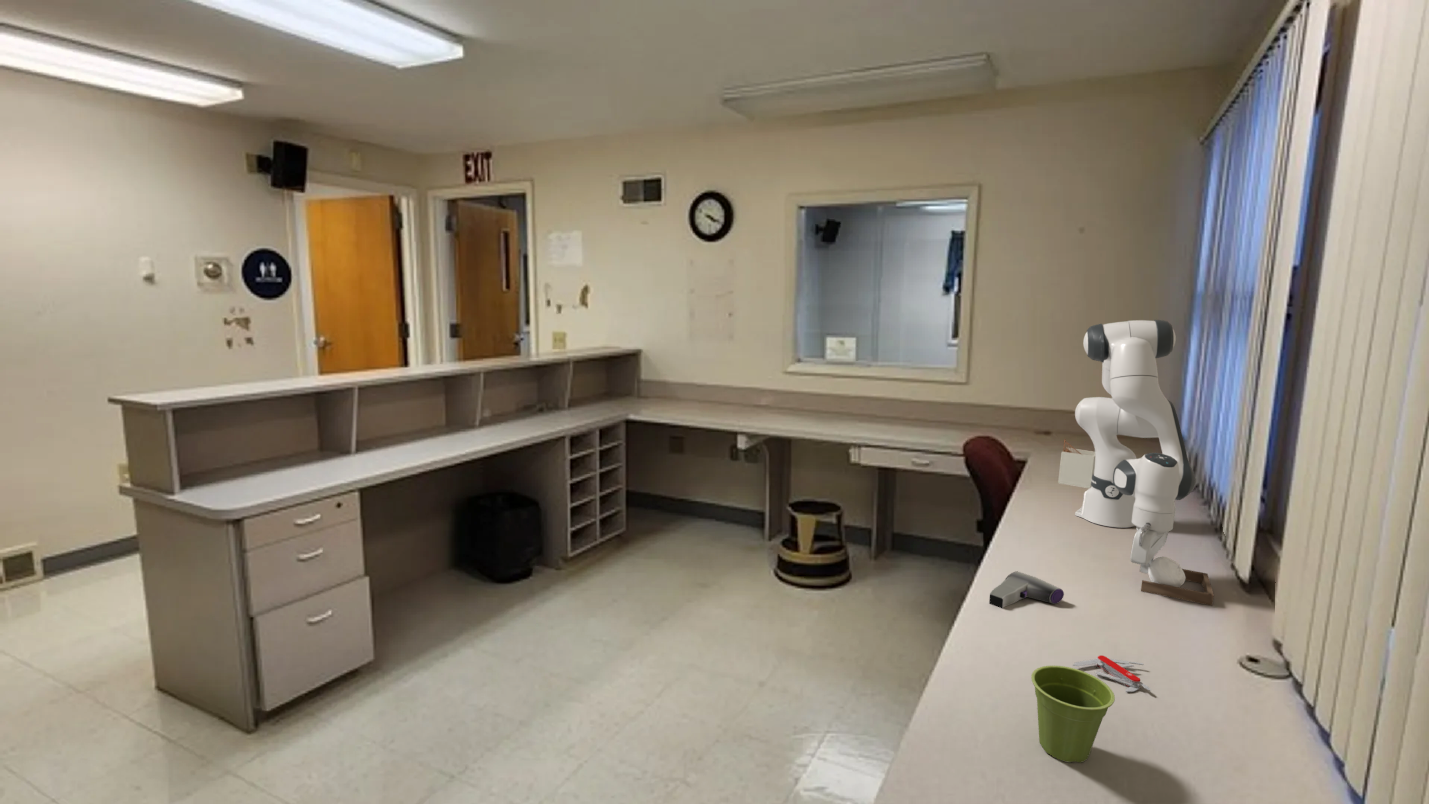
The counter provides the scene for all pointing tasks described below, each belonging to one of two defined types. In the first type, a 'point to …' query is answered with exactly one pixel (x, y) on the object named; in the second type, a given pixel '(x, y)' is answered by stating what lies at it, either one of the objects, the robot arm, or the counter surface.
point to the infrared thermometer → (1024, 590)
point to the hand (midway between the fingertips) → (1145, 571)
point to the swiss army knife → (1116, 671)
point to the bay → (1183, 593)
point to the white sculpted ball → (1166, 572)
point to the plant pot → (1069, 710)
